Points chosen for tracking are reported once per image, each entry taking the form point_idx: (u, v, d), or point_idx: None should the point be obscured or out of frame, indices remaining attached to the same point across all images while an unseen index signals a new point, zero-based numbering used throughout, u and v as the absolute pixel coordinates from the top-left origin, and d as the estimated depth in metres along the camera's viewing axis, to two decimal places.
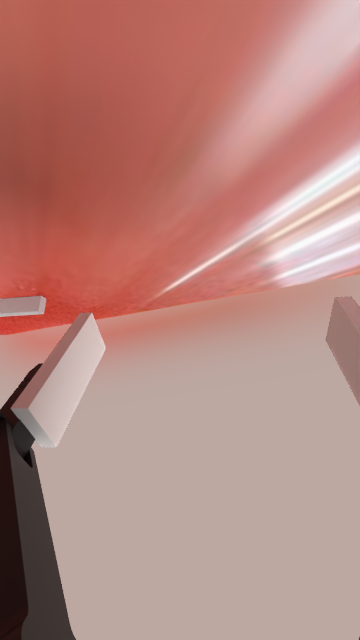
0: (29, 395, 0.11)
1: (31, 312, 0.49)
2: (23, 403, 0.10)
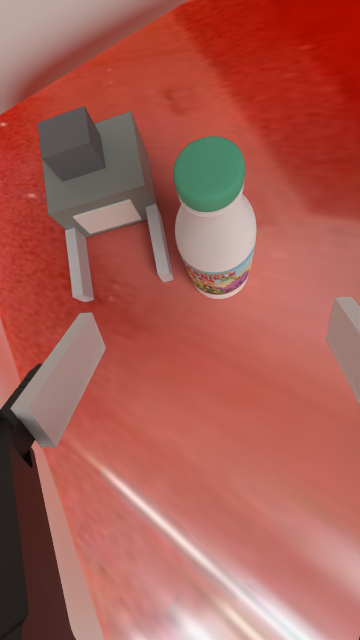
0: (29, 395, 0.11)
1: (78, 283, 0.36)
2: (23, 403, 0.10)
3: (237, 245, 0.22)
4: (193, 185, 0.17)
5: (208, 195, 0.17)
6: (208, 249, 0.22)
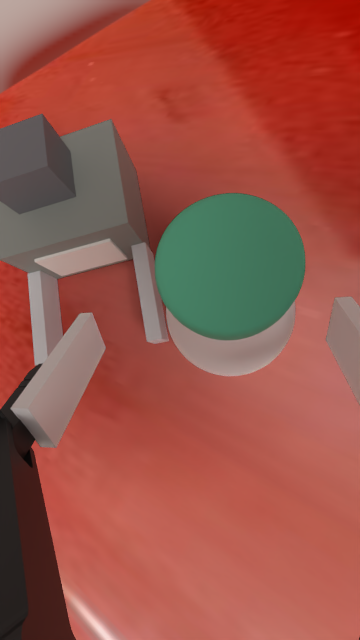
0: (29, 395, 0.11)
1: (42, 347, 0.28)
2: (23, 403, 0.10)
3: (268, 354, 0.13)
4: (195, 301, 0.08)
5: (227, 327, 0.08)
6: (219, 362, 0.13)
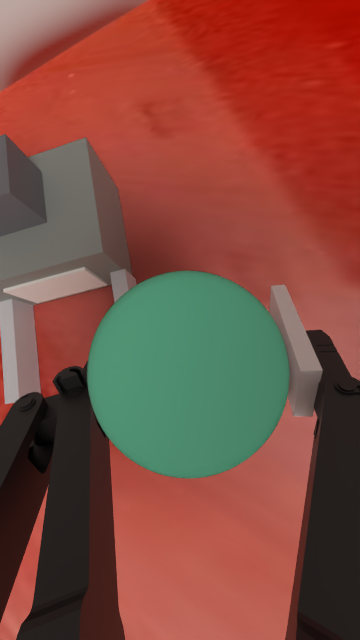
0: None
1: (13, 383, 0.25)
2: None
3: None
4: (137, 428, 0.06)
5: (181, 470, 0.05)
6: None
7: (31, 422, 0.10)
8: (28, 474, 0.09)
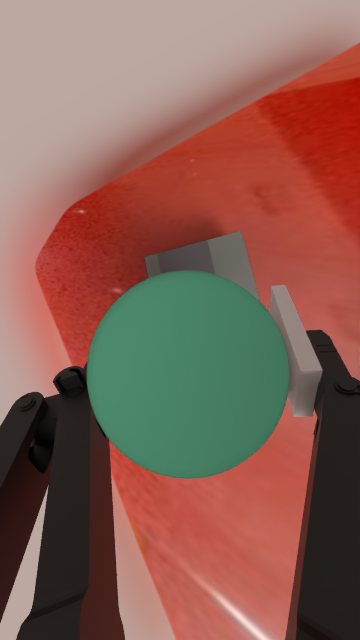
0: None
1: None
2: None
3: None
4: (137, 428, 0.06)
5: (181, 470, 0.05)
6: None
7: (31, 422, 0.10)
8: (28, 474, 0.09)
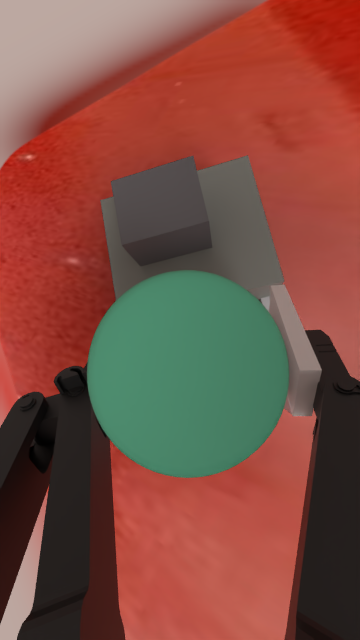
0: None
1: None
2: None
3: None
4: (137, 427, 0.06)
5: (181, 469, 0.05)
6: None
7: (32, 422, 0.10)
8: (29, 474, 0.09)
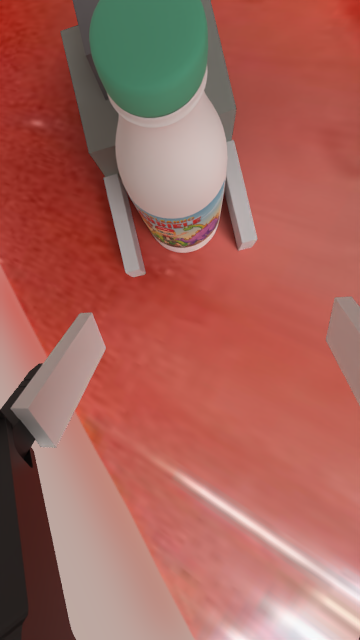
0: (29, 395, 0.11)
1: (131, 254, 0.27)
2: (23, 403, 0.10)
3: (201, 178, 0.16)
4: (123, 63, 0.10)
5: (148, 82, 0.10)
6: (161, 184, 0.16)
7: None
8: None
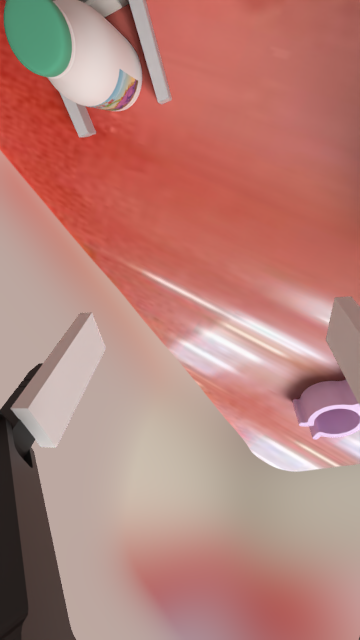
0: (29, 395, 0.11)
1: (79, 120, 0.37)
2: (23, 403, 0.10)
3: (98, 85, 0.26)
4: (29, 58, 0.21)
5: (44, 69, 0.21)
6: (74, 93, 0.26)
7: None
8: None
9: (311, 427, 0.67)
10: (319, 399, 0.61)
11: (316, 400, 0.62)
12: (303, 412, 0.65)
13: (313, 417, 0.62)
